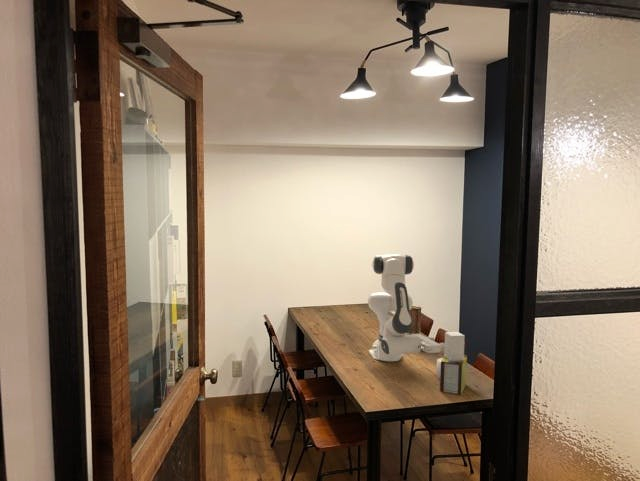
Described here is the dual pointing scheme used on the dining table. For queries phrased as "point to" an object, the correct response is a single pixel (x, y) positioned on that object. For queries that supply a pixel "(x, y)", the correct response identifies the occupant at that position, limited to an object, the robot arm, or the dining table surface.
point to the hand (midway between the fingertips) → (438, 341)
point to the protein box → (453, 376)
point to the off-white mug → (439, 367)
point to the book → (415, 320)
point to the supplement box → (454, 346)
